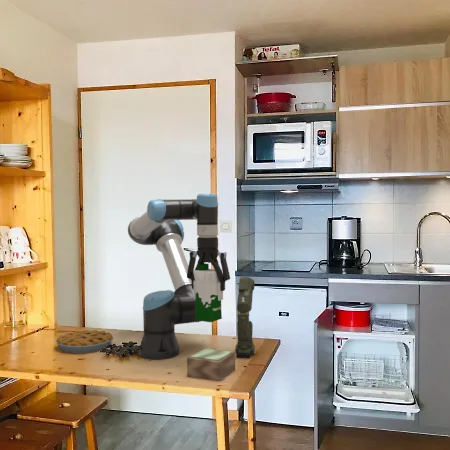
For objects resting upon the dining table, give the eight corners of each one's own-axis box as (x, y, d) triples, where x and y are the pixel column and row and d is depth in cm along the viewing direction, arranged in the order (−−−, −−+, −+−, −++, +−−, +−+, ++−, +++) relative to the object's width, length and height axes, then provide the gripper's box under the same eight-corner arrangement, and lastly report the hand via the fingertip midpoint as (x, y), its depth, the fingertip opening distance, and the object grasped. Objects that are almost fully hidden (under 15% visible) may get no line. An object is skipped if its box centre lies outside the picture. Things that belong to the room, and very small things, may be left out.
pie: (79, 358, 190) (79, 345, 190) (45, 348, 203) (44, 336, 203) (124, 345, 207) (124, 332, 207) (90, 337, 221) (89, 325, 220)
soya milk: (205, 315, 191) (204, 262, 190) (225, 318, 186) (225, 263, 185) (191, 320, 183) (190, 265, 183) (212, 323, 179) (211, 266, 178)
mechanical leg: (250, 359, 183) (253, 275, 189) (231, 358, 185) (234, 275, 191) (256, 357, 197) (258, 279, 202) (237, 356, 198) (240, 278, 204)
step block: (187, 376, 169) (187, 356, 168) (203, 365, 180) (203, 347, 179) (220, 381, 164) (220, 361, 163) (235, 369, 175) (235, 351, 174)
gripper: (176, 236, 185) (176, 298, 186) (231, 237, 176) (231, 303, 177) (186, 235, 191) (186, 295, 192) (239, 236, 182) (240, 299, 183)
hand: (208, 298), depth 184 cm, fingers closed on soya milk, 9 cm apart
